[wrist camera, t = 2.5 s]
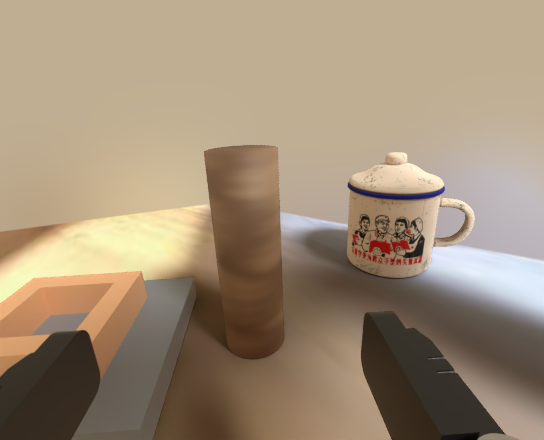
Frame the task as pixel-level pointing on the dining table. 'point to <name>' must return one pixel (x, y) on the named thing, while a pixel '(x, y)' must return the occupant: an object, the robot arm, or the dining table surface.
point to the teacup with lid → (397, 218)
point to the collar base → (107, 341)
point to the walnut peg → (248, 246)
